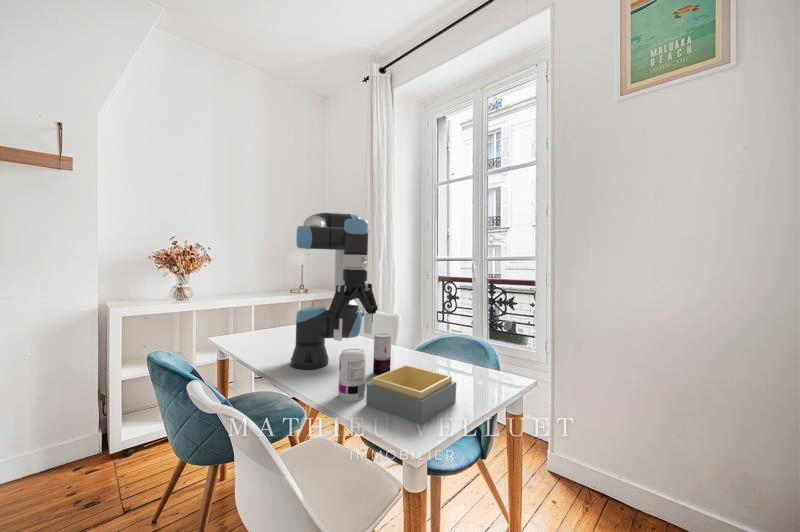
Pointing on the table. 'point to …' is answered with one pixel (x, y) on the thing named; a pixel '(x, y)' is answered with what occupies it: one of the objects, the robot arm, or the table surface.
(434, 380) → the inner crate
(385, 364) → the beverage can
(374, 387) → the outer crate
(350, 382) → the supplement can
